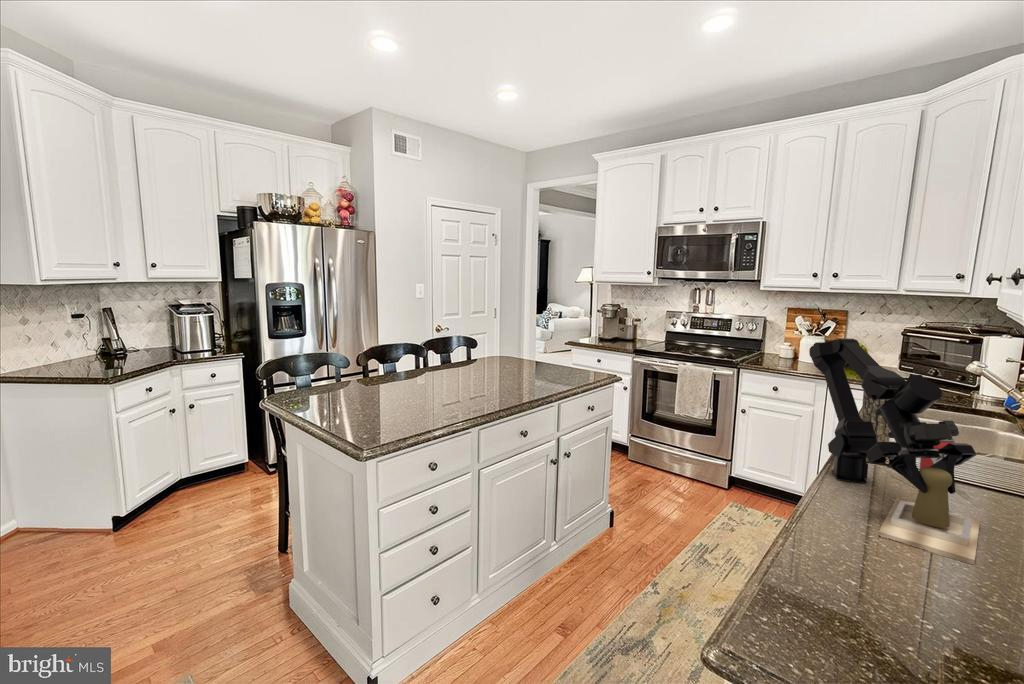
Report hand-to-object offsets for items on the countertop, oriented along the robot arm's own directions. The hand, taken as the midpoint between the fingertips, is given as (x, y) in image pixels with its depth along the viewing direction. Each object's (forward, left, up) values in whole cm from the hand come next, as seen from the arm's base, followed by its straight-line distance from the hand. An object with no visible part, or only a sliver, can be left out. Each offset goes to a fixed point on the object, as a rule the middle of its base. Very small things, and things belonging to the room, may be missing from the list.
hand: (939, 492), depth 97 cm
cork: (0, +1, -7) cm, 7 cm away
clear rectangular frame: (0, +1, -9) cm, 9 cm away
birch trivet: (0, +1, -9) cm, 9 cm away
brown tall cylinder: (+1, +45, -9) cm, 46 cm away
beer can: (+11, +32, -9) cm, 35 cm away
